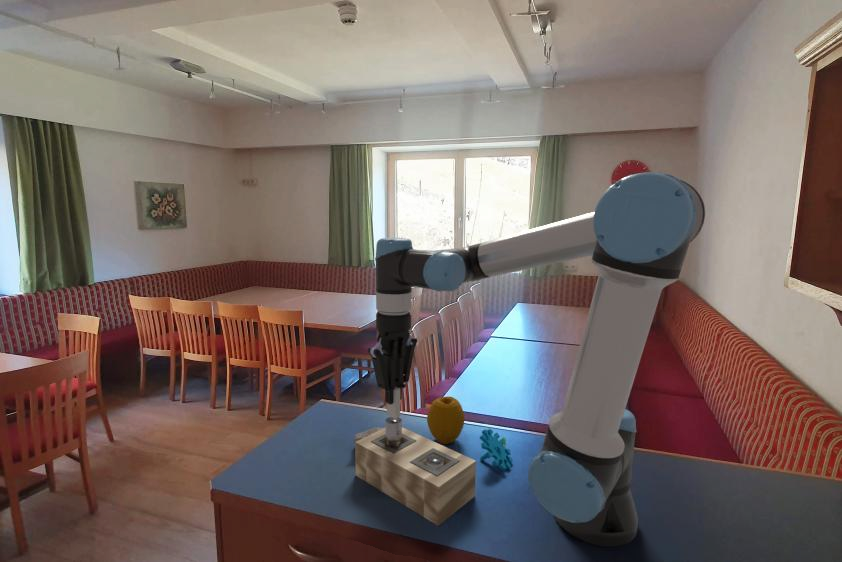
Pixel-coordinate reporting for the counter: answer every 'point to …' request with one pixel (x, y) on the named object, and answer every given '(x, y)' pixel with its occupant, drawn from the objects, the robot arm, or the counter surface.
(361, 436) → the stone
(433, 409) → the apple
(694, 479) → the counter surface
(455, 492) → the socket block
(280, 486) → the counter surface
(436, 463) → the steel peg near
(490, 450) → the teal knobby branched piece
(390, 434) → the steel peg far
